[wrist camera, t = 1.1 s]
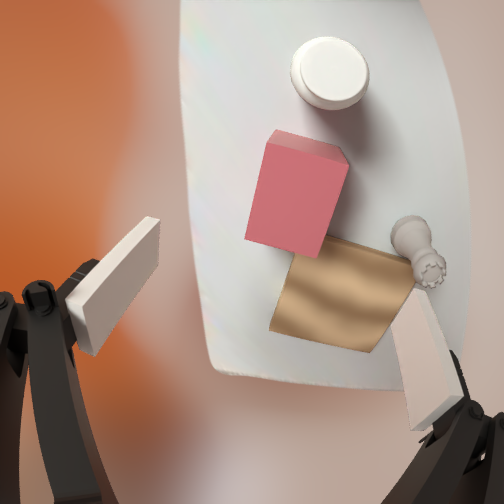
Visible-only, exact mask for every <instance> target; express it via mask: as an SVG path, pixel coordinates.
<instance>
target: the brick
mask: <svg viewBox="0 0 504 504" xmlns="http://www.w3.org/2000/svg"><path fill="white" fill-rule="evenodd" d="M348 168H349V164H348V162H347V161H346V159H345V157H344V155H343V153H342V151H341V150H340V148H339V147H337V146H334V145H330V144H327V143H324V142H320V141H317V140H313V139H310V138H306V137H303V136H299V135H295V134H292V133H288V132H284V131H280V130H275V131H274V133H273V134H272V136H271V137H270V138H269V140H268V141H267V143H266V148H265V152H264V156H263V160H262V165H261V169H260V173H259V177H258V182H257V186H256V190H255V195H254V199H253V203H252V208H251V212H250V217H249V221H248V225H247V230H246V234H245V239H246V240H249V241H253V242H257V243H261V244H264V245H268V246H272V247H275V248H279V249H283V250H287V251H290V252H294V253H298V254H301V255H305V256H309V257H312V258H317V256H318V253H319V251H320V248H321V245H322V243H323V240H324V237H325V234H326V232H327V229H328V226H329V223H330V221H331V218H332V215H333V212H334V209H335V207H336V204H337V201H338V198H339V195H340V192H341V189H342V186H343V183H344V180H345V177H346V174H347V171H348Z"/></svg>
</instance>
